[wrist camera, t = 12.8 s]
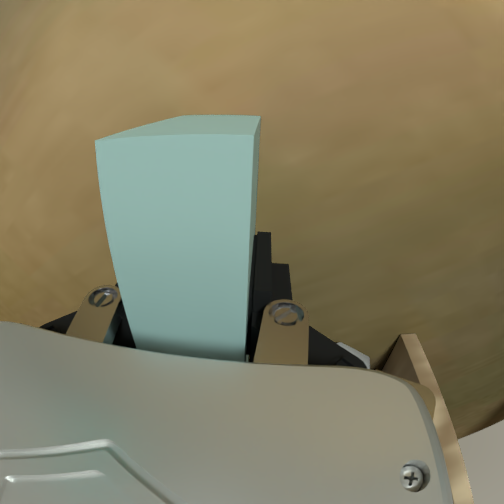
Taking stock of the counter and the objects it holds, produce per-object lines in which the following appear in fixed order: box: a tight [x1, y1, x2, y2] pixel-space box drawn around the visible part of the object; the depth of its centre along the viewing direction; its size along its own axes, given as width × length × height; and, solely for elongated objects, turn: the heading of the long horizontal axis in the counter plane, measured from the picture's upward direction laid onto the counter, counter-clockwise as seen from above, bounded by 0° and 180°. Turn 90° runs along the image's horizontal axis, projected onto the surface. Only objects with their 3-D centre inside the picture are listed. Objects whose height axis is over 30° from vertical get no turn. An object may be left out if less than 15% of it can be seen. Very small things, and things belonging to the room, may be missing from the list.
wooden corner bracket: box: [382, 334, 474, 504], centre depth 14 cm, size 11×15×14 cm
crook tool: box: [95, 115, 261, 362], centre depth 13 cm, size 10×22×7 cm, turn 178°
